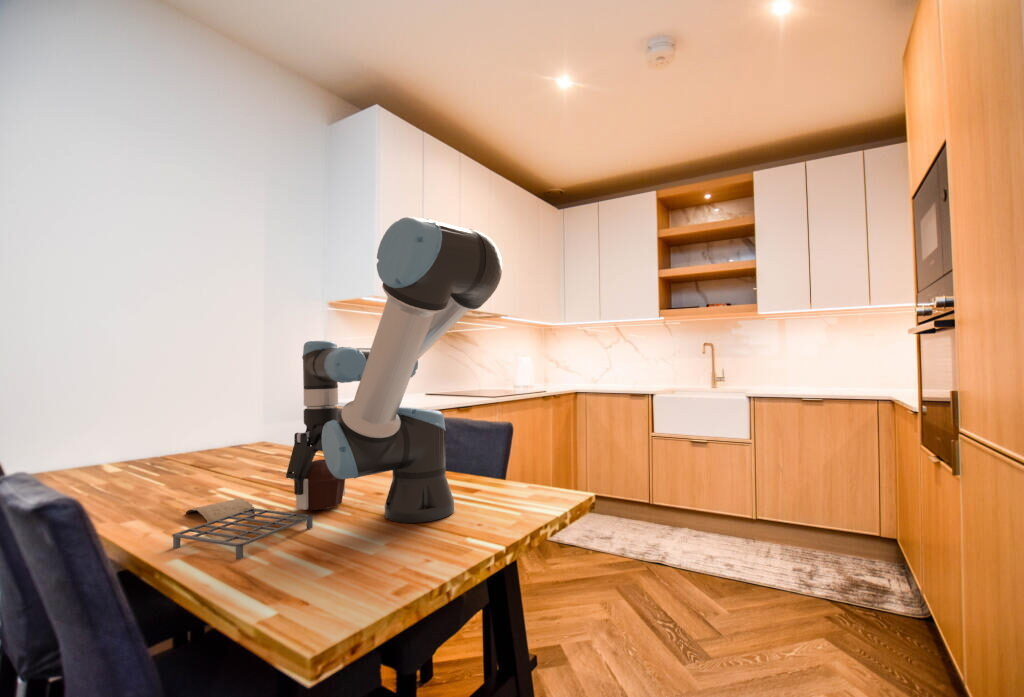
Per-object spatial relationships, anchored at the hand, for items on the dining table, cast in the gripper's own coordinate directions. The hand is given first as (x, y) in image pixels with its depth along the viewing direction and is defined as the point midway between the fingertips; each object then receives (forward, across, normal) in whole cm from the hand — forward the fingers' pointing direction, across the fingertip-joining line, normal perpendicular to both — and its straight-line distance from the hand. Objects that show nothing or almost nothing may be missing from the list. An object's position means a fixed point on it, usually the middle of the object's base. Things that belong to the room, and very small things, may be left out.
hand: (321, 501), depth 112 cm
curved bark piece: (+2, +10, -20) cm, 23 cm away
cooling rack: (+2, +20, 0) cm, 20 cm away
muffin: (+1, 0, 0) cm, 1 cm away
